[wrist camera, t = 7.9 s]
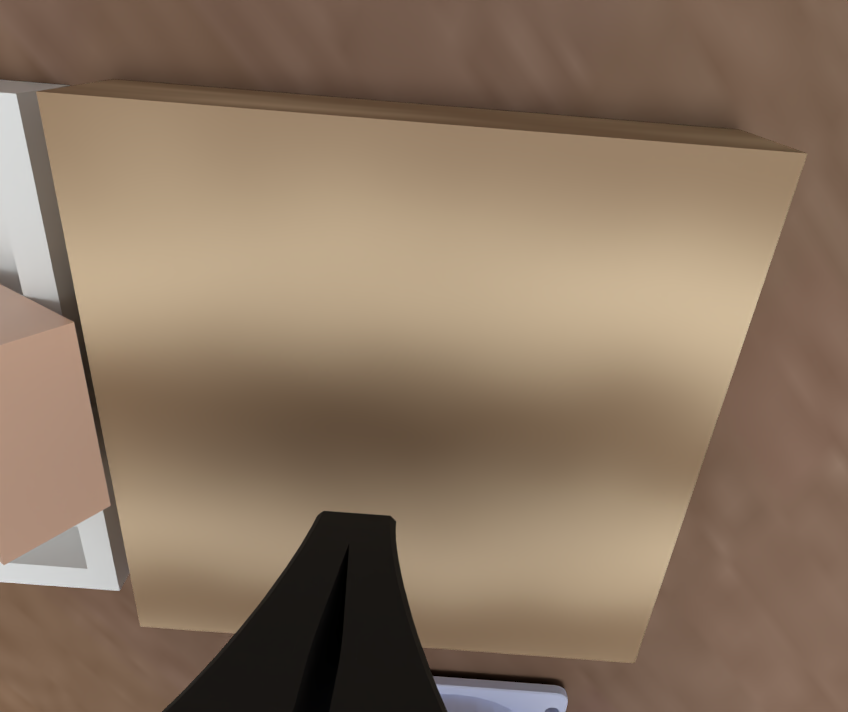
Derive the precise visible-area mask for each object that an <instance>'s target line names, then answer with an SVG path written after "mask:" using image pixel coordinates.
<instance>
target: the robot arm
mask: <svg viewBox="0 0 848 712" xmlns="http://www.w3.org/2000/svg"><path fill="white" fill-rule="evenodd" d="M567 704H568V698H567V693H566V691H565V689H564V688H562V687H560V686H557V685H548V684H535V683H521V682H508V681H494V680H481V679H467V678H454V677H440V676H432V673H431V670H430V668H429V665H428V662H427V660H426V657H425V654H424V651H423V648H422V645H421V642H420V639H419V637H418V634H417V630H416V627H415V624H414V621H413V617H412V614H411V610H410V606H409V603H408V599H407V595H406V592H405V588H404V584H403V579H402V575H401V569H400V564H399V559H398V552H397V543H396V521H395V520H394V519H393V518H392V517H391V516H389V515H375V514H361V513H347V512H334V511H323V512H321V513H320V514H318V515H317V517H316V519H315V521H314V523H313V525H312V526H311V528H310V530H309V532H308V533H307V535H306V537H305V539H304V540H303V542H302V543H301V545H300V547H299V548H298V550H297V551H296V553H295V554H294V556H293V557H292V559H291V560H290V562H289V563H288V565H287V566H286V568H285V569H284V571H283V572H282V573H281V575H280V576H279V578H278V579H277V580H276V582H275V583H274V585H273V586H272V587H271V589H270V590H269V591H268V593H267V594H266V596H265V597H264V598H263V600H262V601H261V602H260V604H259V605H258V606H257V607H256V609H255V610H254V611H253V612H252V614H251V615H250V616H249V617H248V619H247V620H246V621H245V622H244V623H243V625H242V626H241V627H240V628H239V630H238V631H237V632H236V633H235V635H234V636H233V637H232V638H231V639H230V641H229V642H228V643H227V644H226V645H225V646H224V648H223V649H222V650H221V651H220V652H219V653H218V654H217V655H216V657H215V658H214V659H213V660H212V661H211V662H210V663H209V664H208V665H207V667H206V668H205V669H204V670H203V671H202V672H201V673H200V674H199V675H198V676H197V677H196V678H195V679H194V680H193V681H192V682H191V683H190V685H189V686H188V687H187V688H186V689H185V690H184V691H183V692H182V693H181V694H180V695H179V696H178V697H177V698H176V699H175V700H174V701H173V702H172V703H171V704H169V705H168V706H167V707H166V708H165V709H164V710H163V711H162V712H566V708H567Z"/></svg>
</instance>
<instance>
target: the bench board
mask: <svg viewBox="0 0 848 712" xmlns="http://www.w3.org/2000/svg"><path fill="white" fill-rule="evenodd" d="M36 94H37V99H38V104H39V109H40V114H41V120H42V125H43V130H44V135H45V140H46V145H47V150H48V156H49V161H50V166H51V171H52V176H53V181H54V186H55V192H56V197H57V202H58V207H59V212H60V217H61V222H62V228H63V233H64V238H65V243H66V248H67V253H68V258H69V264H70V269H71V274H72V279H73V284H74V289H75V294H76V300H77V305H78V310H79V315H80V320H81V325H82V330H83V336H84V341H85V346H86V351H87V356H88V361H89V367H90V372H91V377H92V382H93V387H94V392H95V397H96V403H97V408H98V413H99V418H100V423H101V428H102V433H103V439H104V444H105V449H106V454H107V459H108V464H109V469H110V475H111V480H112V485H113V490H114V495H115V500H116V505H117V511H118V516H119V521H120V526H121V531H122V536H123V541H124V547H125V552H126V557H127V562H128V567H129V572H130V577H131V583H132V588H133V593H134V598H135V603H136V608H137V613H138V619H139V624H140V627H154V628H167V629H180V630H194V631H207V632H221V633H234V634H235V633H236V632H237V631H238V630H239V628H240V627H241V626H242V625H243V623H244V622H245V621H246V620H247V619H248V617H249V616H250V615H251V614H252V612H253V611H254V610H255V609H256V607H257V606H258V605H259V604H260V602H261V601H262V600H263V598H264V597H265V596H266V594H267V593H268V591H269V590H270V589H271V587H272V586H273V585H274V583H275V582H276V580H277V579H278V578H279V576H280V575H281V573H282V572H283V571H284V569H285V568H286V566H287V565H288V563H289V562H290V560H291V559H292V557H293V556H294V554H295V553H296V551H297V550H298V548H299V547H300V545H301V543H302V542H303V540H304V539H305V537H306V535H307V533H308V532H309V530H310V528H311V526H312V525H313V523H314V521H315V519H316V517H317V515H318V514H320V513H321V512H323V511H334V512H347V513H361V514H375V515H389V516H391V517H392V518H393V519H394V520H395V521H396V543H397V552H398V559H399V564H400V569H401V575H402V579H403V584H404V588H405V592H406V595H407V599H408V603H409V606H410V610H411V614H412V617H413V621H414V624H415V627H416V630H417V634H418V637H419V639H420V642H421V645H422V647H423V648H436V649H450V650H463V651H476V652H490V653H503V654H517V655H530V656H544V657H557V658H571V659H584V660H598V661H611V662H624V663H635V660H636V657H637V654H638V651H639V649H640V646H641V643H642V640H643V637H644V634H645V631H646V628H647V625H648V622H649V619H650V616H651V613H652V610H653V607H654V604H655V601H656V598H657V595H658V593H659V590H660V587H661V584H662V581H663V578H664V575H665V572H666V569H667V566H668V563H669V560H670V557H671V554H672V551H673V548H674V545H675V542H676V540H677V537H678V534H679V531H680V528H681V525H682V522H683V519H684V516H685V513H686V510H687V507H688V504H689V501H690V498H691V495H692V492H693V489H694V487H695V484H696V481H697V478H698V475H699V472H700V469H701V466H702V463H703V460H704V457H705V454H706V451H707V448H708V445H709V442H710V439H711V436H712V434H713V431H714V428H715V425H716V422H717V419H718V416H719V413H720V410H721V407H722V404H723V401H724V398H725V395H726V392H727V389H728V386H729V383H730V380H731V378H732V375H733V372H734V369H735V366H736V363H737V360H738V357H739V354H740V351H741V348H742V345H743V342H744V339H745V336H746V333H747V330H748V327H749V325H750V322H751V319H752V316H753V313H754V310H755V307H756V304H757V301H758V298H759V295H760V292H761V289H762V286H763V283H764V280H765V277H766V274H767V272H768V269H769V266H770V263H771V260H772V257H773V254H774V251H775V248H776V245H777V242H778V239H779V236H780V233H781V230H782V227H783V224H784V221H785V218H786V216H787V213H788V210H789V207H790V204H791V201H792V198H793V195H794V192H795V189H796V186H797V183H798V180H799V177H800V174H801V171H802V168H803V165H804V163H805V160H806V157H807V154H808V153H805V152H802V151H799V150H796V149H793V148H791V147H788V146H785V145H782V144H779V143H776V142H773V141H771V140H768V139H765V138H762V137H759V136H756V135H754V134H751V133H748V132H745V131H742V130H738V129H726V128H713V127H701V126H689V125H676V124H664V123H651V122H639V121H626V120H614V119H602V118H589V117H577V116H564V115H552V114H540V113H527V112H515V111H502V110H490V109H477V108H465V107H453V106H440V105H428V104H415V103H403V102H391V101H378V100H366V99H353V98H341V97H328V96H316V95H304V94H291V93H279V92H266V91H254V90H242V89H229V88H217V87H204V86H192V85H179V84H167V83H155V82H142V81H130V80H117V79H111V80H105V81H99V82H92V83H86V84H80V85H74V86H67V87H61V88H55V89H49V90H42V91H36Z"/></svg>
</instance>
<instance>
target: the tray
mask: <svg viewBox="0 0 848 712" xmlns="http://www.w3.org/2000/svg"><path fill="white" fill-rule="evenodd" d="M67 86H70V85H60V84H48V83H35V82H23V81H10V80H0V284H1V285H3V286H5V287H7V288H9V289H11V290H13V291H15V292H17V293H19V294H20V295H22V296H24V297H26V298H28V299H30V300H32V301H34V302H36V303H38V304H40V305H42V306H44V307H46V308H48V309H50V310H52V311H54V312H56V313H57V314H59V315H61V316H63V317H65V318H67V319H69V320H71V321H73V322H74V324H75V329H76V334H77V339H78V344H79V349H80V354H81V359H82V364H83V369H84V374H85V379H86V384H87V389H88V394H89V399H90V404H91V409H92V414H93V419H94V424H95V429H96V434H97V439H98V444H99V449H100V454H101V459H102V464H103V469H104V474H105V479H106V484H107V489H108V494H109V499H110V504H111V506H109V507H107V508H106V509H104V510H102V511H100V512H99V513H97V514H95V515H93V516H91V517H90V518H88V519H86V520H84V521H82V522H81V523H79V524H77V525H75V526H73V527H72V528H70V529H68V530H66V531H64V532H63V533H61V534H59V535H57V536H56V537H54V538H52V539H50V540H48V541H47V542H45V543H43V544H41V545H39V546H38V547H36V548H34V549H32V550H30V551H29V552H27V553H25V554H23V555H22V556H20V557H18V558H16V559H14V560H13V561H11V562H9V563H7V564H5V565H3V564H2V563H1V562H0V582H9V583H22V584H35V585H49V586H62V587H75V588H89V589H102V590H116V591H120V589H121V587H122V586H123V584H124V582H125V581H126V579H127V577H128V575H129V574H130V572H129V567H128V562H127V557H126V552H125V547H124V541H123V536H122V531H121V526H120V521H119V516H118V511H117V505H116V500H115V495H114V490H113V485H112V480H111V475H110V469H109V464H108V459H107V454H106V449H105V444H104V439H103V433H102V428H101V423H100V418H99V413H98V408H97V403H96V397H95V392H94V387H93V382H92V377H91V372H90V367H89V361H88V356H87V351H86V346H85V341H84V336H83V330H82V325H81V320H80V315H79V310H78V305H77V300H76V294H75V289H74V284H73V279H72V274H71V269H70V264H69V258H68V253H67V248H66V243H65V238H64V233H63V228H62V222H61V217H60V212H59V207H58V202H57V197H56V192H55V186H54V181H53V176H52V171H51V166H50V161H49V156H48V150H47V145H46V140H45V135H44V130H43V125H42V120H41V114H40V109H39V104H38V99H37V94H36V91H42V90H49V89H55V88H61V87H67Z"/></svg>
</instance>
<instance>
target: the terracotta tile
mask: <svg viewBox="0 0 848 712" xmlns="http://www.w3.org/2000/svg"><path fill="white" fill-rule="evenodd" d="M109 506H111V504H110V499H109V494H108V489H107V484H106V479H105V474H104V469H103V464H102V459H101V454H100V449H99V444H98V439H97V434H96V429H95V424H94V419H93V414H92V409H91V404H90V399H89V394H88V389H87V384H86V379H85V374H84V369H83V364H82V359H81V354H80V349H79V344H78V339H77V334H76V329H75V324H74V322H73V321H71V320H69V319H67V318H65V317H63V316H61V315H59V314H57V313H56V312H54V311H52V310H50V309H48V308H46V307H44V306H42V305H40V304H38V303H36V302H34V301H32V300H30V299H28V298H26V297H24V296H22V295H20V294H19V293H17V292H15V291H13V290H11V289H9V288H7V287H5V286H3V285H1V284H0V562H1V563H2V564H3V565H5V564H7V563H9V562H11V561H13V560H14V559H16V558H18V557H20V556H22V555H23V554H25V553H27V552H29V551H30V550H32V549H34V548H36V547H38V546H39V545H41V544H43V543H45V542H47V541H48V540H50V539H52V538H54V537H56V536H57V535H59V534H61V533H63V532H64V531H66V530H68V529H70V528H72V527H73V526H75V525H77V524H79V523H81V522H82V521H84V520H86V519H88V518H90V517H91V516H93V515H95V514H97V513H99V512H100V511H102V510H104V509H106V508H107V507H109Z"/></svg>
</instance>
